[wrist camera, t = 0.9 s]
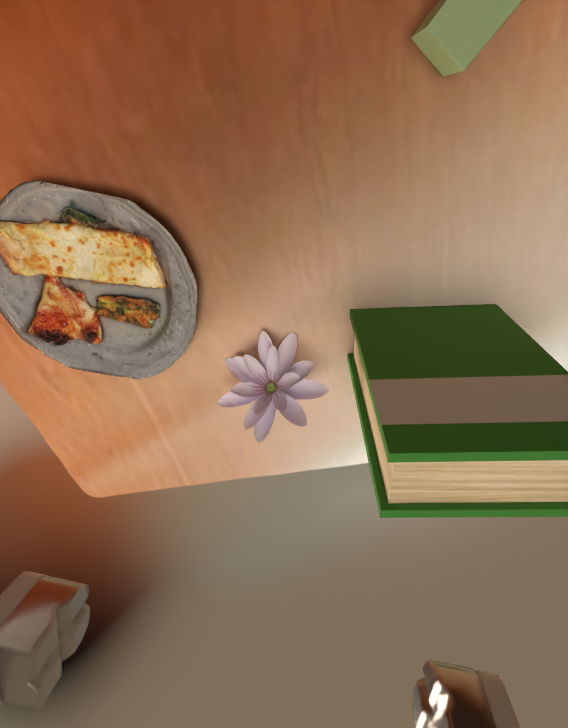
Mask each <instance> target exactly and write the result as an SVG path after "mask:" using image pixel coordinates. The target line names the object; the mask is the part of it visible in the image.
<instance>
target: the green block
mask: <svg viewBox="0 0 568 728" xmlns="http://www.w3.org/2000/svg"><path fill="white" fill-rule="evenodd" d="M521 2H522V0H438V1H437V3H436V4H435V5H434V7H433V8H432V10H431V11H430V12H429V14H428V15H427V16H426V18H425V19H424V20H423V22H422V23H421V24H420V26H419V27H418V29H417V30H416V31H415V33H414V34H413V35H412V37H411V40H412V41H413V42H414V43H415V44H416V45H417V47H418V48H419V49H420V50H421V51H422V52H423V54H424V55H425V56H426V57H427V58H428V59H429V61H430V62H431V63H432V64H433V65H434V66H435V68H436V69H437V70H438V71H439V72H440V74H441V75H442V76H443V77H445V76H448V75H452V74H455V73H459V72H463V71H464V70H465V69H466V68H467V67H468V66H469V64H470V63H471V62H472V61H473V60H474V58H475V57H476V56H477V55H478V54H479V52H480V51H481V50H482V49H483V47H484V46H485V45H486V44H487V43H488V41H489V40H490V39H491V38H492V37H493V35H494V34H495V33H496V32H497V31H498V29H499V28H500V27H501V26H502V25H503V23H504V22H505V21H506V20H507V19H508V17H509V16H510V15H511V14H512V13H513V11H514V10H515V9H516V8H517V6H518V5H519V4H520V3H521Z"/></svg>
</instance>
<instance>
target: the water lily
mask: <svg viewBox="0 0 568 728" xmlns="http://www.w3.org/2000/svg"><path fill="white" fill-rule="evenodd" d="M296 349H297V337H296V334H295V333H294V332H293V333H291V334H289V335H288V336H287V337H286V338H285V339H284V340H283V341H282V343H281V344H280V346H279V348H278V350H276V348H275V346H274V345H273V344H272V341H271V339H270V337H269V336H268V334H267V333H266V332H265V331H262V332H261V334H260V337H259V340H258V353H259V359H260V362H261V364H260V363H259V362H258V361H257V360H256V359H255V358H254V357H252V356H250V355H247V354H244V358H243V357H239V356H235V357H234V358H227V359H225V362H226V365H227V367H228V369H229V370H230V371H231V372H232V373H233V374H234V375H235V376H236V377H238V378H239V379H241V380H242V381H244V382H241V383H238V384H236V385H234V386H233V387H232V388H231V390H230V392H228V393H226V394H225V395H223V396H222V397H221V398H220V399H219V401H218V403H217V404H218V405H220V406H223V407H237V406H241V405H245V404H248V403H251V402H253V401H255V400H257V399H258V400H257V401H256V402H255V403H254V404H253V405H252V406H251V408H250V409H249V411H248V412H247V414H246V417H245V421H244V427H245V429H248V428H251V427H252V426H254V433H255V437H256V440H257V441H258V443H260V442H262V441H263V440H264V439H265V438H266V436H267V435H268V433H269V431H270V429H271V426H272V424H273V420H274V416H275V411H276V409H278V410H279V411H280V412H281V414H282V415H283V416H284V417H285V418H286V419H287V420H288V421H289V422H291V423H293V424H295V425H298V426H306V424H307V420H306V415H305V413H304V411H303V409H302V407H301V406H300V404H299V403H298V402H297V401H296V400H295V399H314V398H318V397H321V396H323V395H325V394H326V393H327V392H328V391H329V390H328V388H327V387H326V386H325V385H324V384H322V383H320V382H318V381H315V380H310V379H304V378H305V377H306V376H307V375H308V374H309V372H310V371H311V369H312V367H313V365H314V363H313V362H312V361H300V362H297V363H295V364H294V365H292V363H293V361H294V357H295V354H296Z"/></svg>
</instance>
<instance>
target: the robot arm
mask: <svg viewBox="0 0 568 728" xmlns="http://www.w3.org/2000/svg"><path fill="white" fill-rule="evenodd" d="M88 595H89V592H88V585H85V584H81V583H76V582H72V581H67V580H63V579H58V578H54V577H50V576H47V575H43V574H38V573H33V572H28V571H25V572H23V573H22V574H21V575H19V576H18V577H16V578H15V580H14V581H13V582H12V583H11V584H10V585H9V586H8V587H7V589H6V590H5V591H4V592H3V593H2V594H1V595H0V706H1V705H2V702H7V703H12V704H17V705H22V706H27V707H32V708H37V709H41V708H42V706H43V704H44V703H45V701H46V699H47V698H48V696H49V694H50V693H51V691H52V689H53V688H54V686H55V684H56V683H57V681H58V679H59V677H60V676H61V662H62V661H64V660H65V659H66V658H68V657H69V656H70V655H72V654H73V653H75V651H76V649H77V647H78V646H79V644H80V642H81V640H82V638H83V636H84V633H85V631H86V628H87V626H88V622H89V617H90V608H89V606H88V605H87V604H86V603H85V600H86V599H87V597H88ZM423 671H424V678H422V679H420V680H418V681H417V683H416V686H415V688H414V693H413V718H414V724H415V728H520V726H519V723H518V721H517V718H516V715H515V713H514V710H513V708H512V705H511V702H510V699H509V697H508V694H507V692H506V689H505V686H504V684H503V682H502V680H501V679H500V678H499V676H498V675H496V674H494V673H489V672H485V671H480V670H475V669H472V668H469V667H463V666H459V665H453V664H448V663H444V662H439V661H433V660H429V661H426V663H425V665H424V667H423Z"/></svg>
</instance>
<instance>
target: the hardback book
mask: <svg viewBox="0 0 568 728" xmlns="http://www.w3.org/2000/svg"><path fill="white" fill-rule="evenodd" d="M350 319H351V323H352V327H353V331H354V335H355V341H354V354H348V364H349V369H350V374H351V379H352V383H353V388H354V393H355V398H356V403H357V408H358V412H359V417H360V422H361V427H362V432H363V437H364V442H365V446H366V451H367V456H368V461H369V465H370V470H371V475H372V480H373V485H374V490H375V495H376V500H377V504H378V509H379V514H380V517H381V518H389V517H390V518H393V517H397V518H400V517H568V372H567V371H566V370H565V369H564V368H563V367H562V366H561V365H560V364H559V363H558V362H557V361H556V360H555V359H554V358H553V357H551V356H550V355H549V354H548V353H547V352H546V351H545V350H544V349H543V348H542V347H541V346H540V345H539V344H538V343H537V342H536V341H534V340H533V339H532V338H531V337H530V336H529V335H528V334H527V333H526V332H525V331H524V330H523V329H522V328H521V327H520V326H519V325H518V324H516V323H515V322H514V321H513V320H512V319H511V318H510V317H509V316H508V315H507V314H506V313H505V312H504V311H503V310H502V309H501V308H499V307H498V306H497V305H496V304H490V305H461V306H432V307H403V308H375V309H350Z"/></svg>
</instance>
